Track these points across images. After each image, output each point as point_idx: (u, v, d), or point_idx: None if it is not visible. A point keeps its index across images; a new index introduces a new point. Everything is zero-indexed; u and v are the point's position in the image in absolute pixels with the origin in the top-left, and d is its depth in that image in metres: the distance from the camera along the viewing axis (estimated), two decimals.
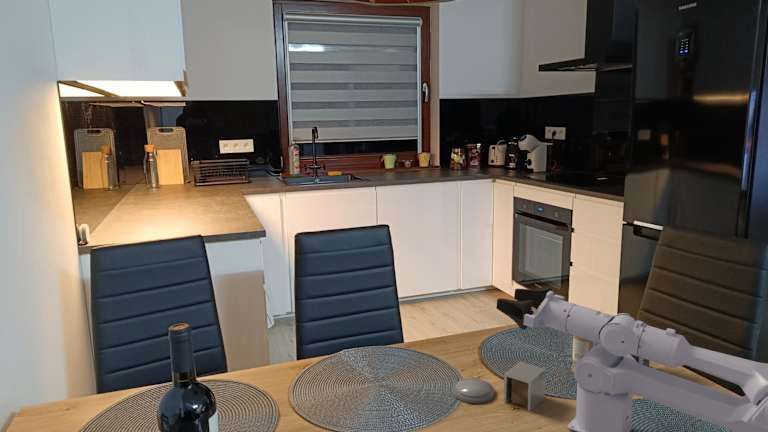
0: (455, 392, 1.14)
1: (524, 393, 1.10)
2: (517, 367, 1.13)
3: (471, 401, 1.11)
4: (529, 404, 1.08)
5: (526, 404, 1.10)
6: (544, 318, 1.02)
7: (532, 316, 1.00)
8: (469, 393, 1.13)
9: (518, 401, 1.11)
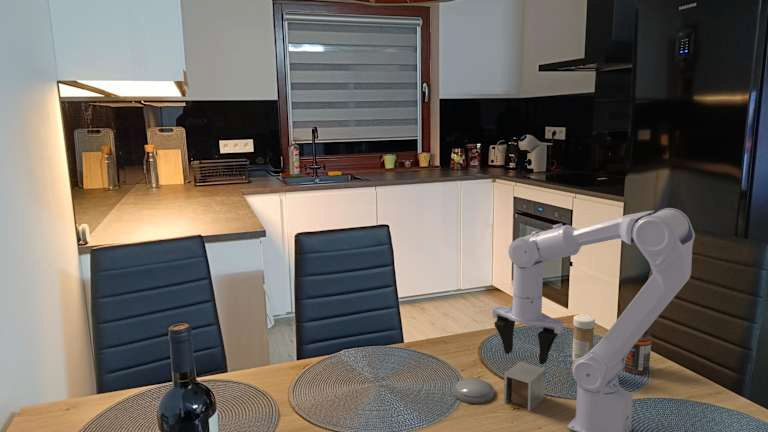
0: (455, 392, 1.14)
1: (524, 393, 1.10)
2: (517, 367, 1.13)
3: (471, 401, 1.11)
4: (529, 404, 1.08)
5: (526, 404, 1.10)
6: None
7: None
8: (469, 393, 1.13)
9: (518, 401, 1.11)
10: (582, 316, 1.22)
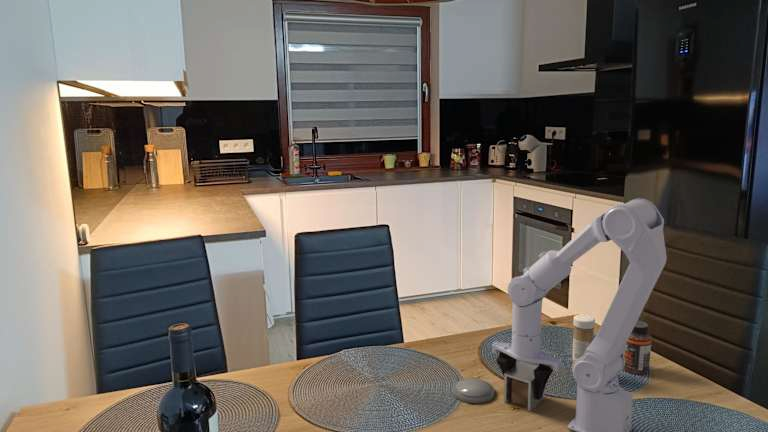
0: (455, 392, 1.14)
1: (524, 393, 1.10)
2: (517, 367, 1.13)
3: (471, 401, 1.11)
4: (529, 404, 1.08)
5: (526, 404, 1.10)
6: None
7: None
8: (469, 393, 1.13)
9: (518, 401, 1.11)
10: (582, 316, 1.22)
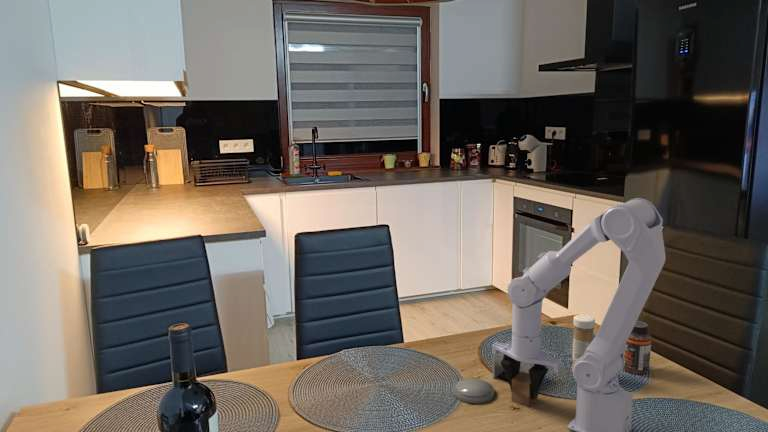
0: (455, 392, 1.14)
1: (524, 393, 1.10)
2: None
3: (471, 401, 1.11)
4: None
5: (526, 404, 1.10)
6: None
7: None
8: (469, 393, 1.13)
9: (518, 401, 1.11)
10: (582, 316, 1.22)
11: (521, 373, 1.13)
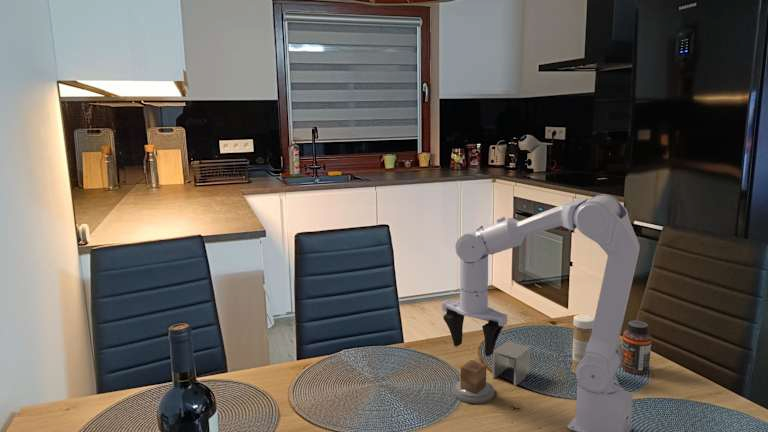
0: (455, 392, 1.14)
1: (472, 381, 1.13)
2: (504, 346, 1.23)
3: (471, 401, 1.11)
4: (515, 379, 1.18)
5: (474, 391, 1.13)
6: None
7: None
8: (469, 393, 1.13)
9: (467, 388, 1.14)
10: (582, 316, 1.22)
11: (470, 361, 1.17)
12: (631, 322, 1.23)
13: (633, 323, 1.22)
